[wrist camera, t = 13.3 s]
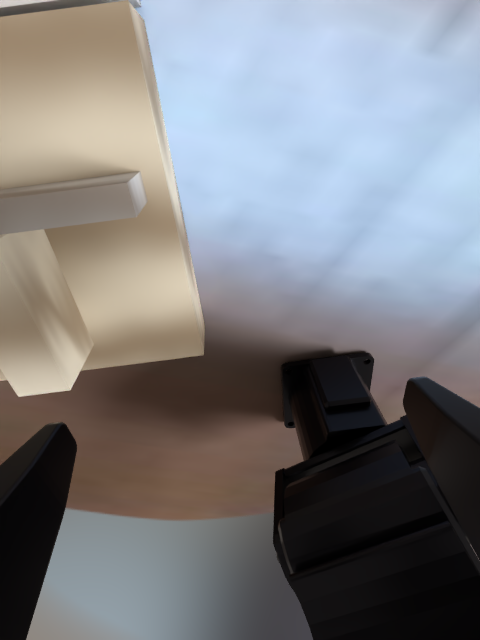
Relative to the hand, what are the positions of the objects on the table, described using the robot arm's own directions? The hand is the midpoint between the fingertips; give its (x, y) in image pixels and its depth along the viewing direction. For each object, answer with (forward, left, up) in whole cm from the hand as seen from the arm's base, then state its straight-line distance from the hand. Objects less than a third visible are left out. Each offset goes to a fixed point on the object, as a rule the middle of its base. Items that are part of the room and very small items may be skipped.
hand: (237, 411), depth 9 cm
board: (+2, +9, -12) cm, 15 cm away
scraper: (0, +9, -9) cm, 13 cm away
